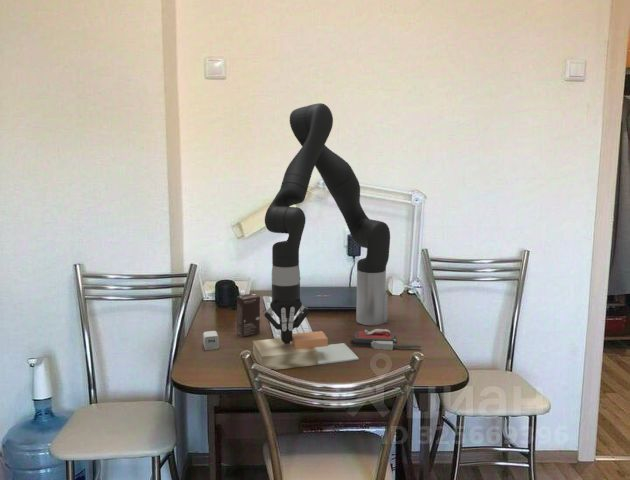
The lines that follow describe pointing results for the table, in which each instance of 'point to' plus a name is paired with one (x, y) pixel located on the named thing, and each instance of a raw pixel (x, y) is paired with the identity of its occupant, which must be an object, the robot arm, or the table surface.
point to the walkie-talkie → (378, 340)
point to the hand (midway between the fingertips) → (286, 342)
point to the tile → (309, 340)
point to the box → (248, 314)
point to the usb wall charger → (210, 340)
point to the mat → (335, 354)
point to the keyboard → (302, 328)
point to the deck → (283, 354)
